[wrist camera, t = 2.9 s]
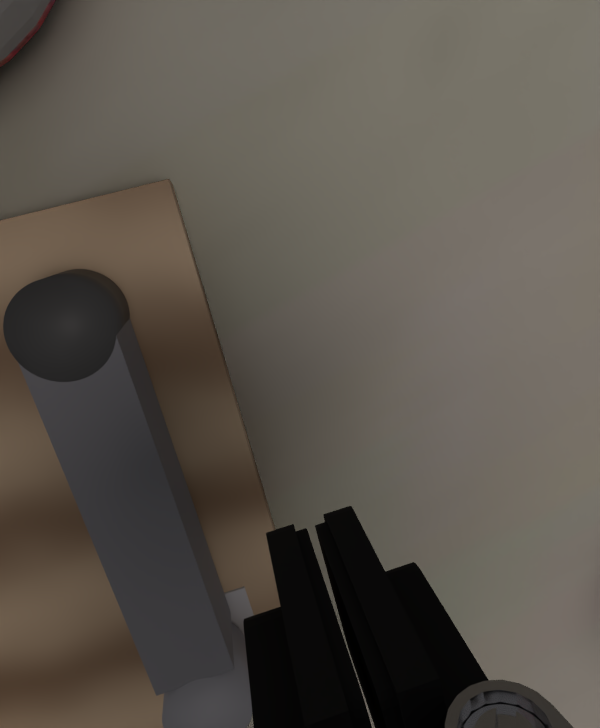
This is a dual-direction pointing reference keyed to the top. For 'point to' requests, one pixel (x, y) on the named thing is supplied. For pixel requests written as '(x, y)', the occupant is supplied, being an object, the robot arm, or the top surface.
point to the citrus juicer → (20, 24)
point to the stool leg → (131, 492)
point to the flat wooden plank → (53, 494)
